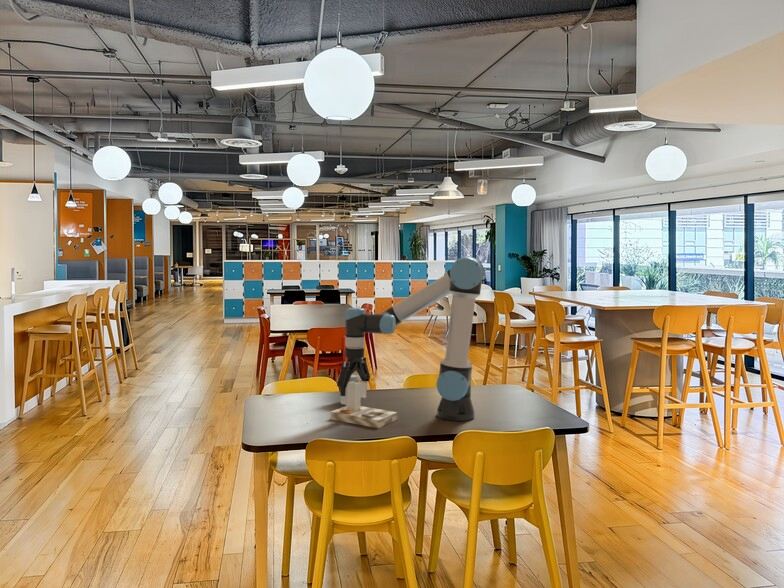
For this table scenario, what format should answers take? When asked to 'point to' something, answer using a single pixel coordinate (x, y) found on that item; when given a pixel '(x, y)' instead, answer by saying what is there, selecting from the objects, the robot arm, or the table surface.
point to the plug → (354, 396)
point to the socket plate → (365, 416)
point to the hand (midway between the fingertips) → (353, 400)
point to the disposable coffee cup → (352, 379)
